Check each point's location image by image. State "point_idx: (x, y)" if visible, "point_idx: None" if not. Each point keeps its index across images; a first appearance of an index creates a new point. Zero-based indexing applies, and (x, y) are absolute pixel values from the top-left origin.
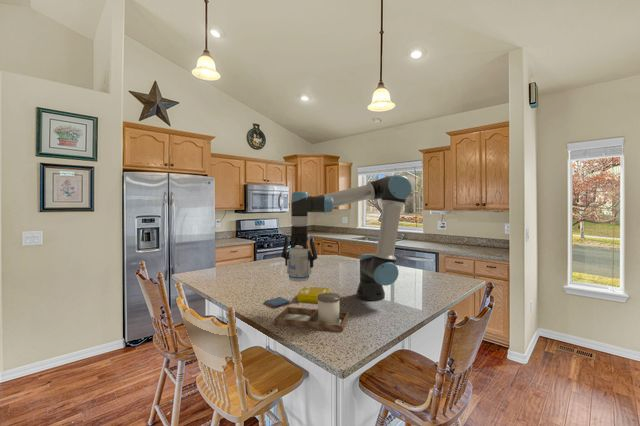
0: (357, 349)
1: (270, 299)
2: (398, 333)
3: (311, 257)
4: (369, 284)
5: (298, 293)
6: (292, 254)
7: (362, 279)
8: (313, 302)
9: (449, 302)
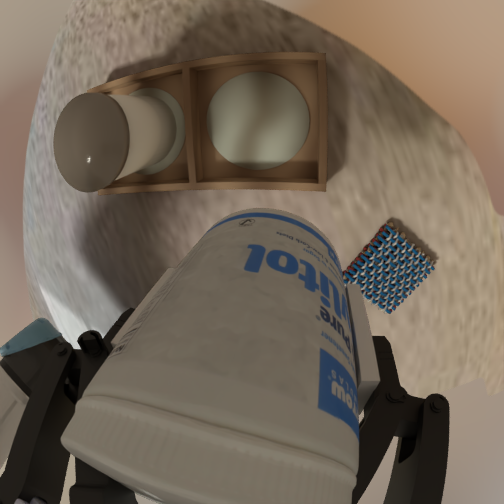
0: (68, 42)
1: (417, 283)
2: (27, 154)
3: (84, 369)
4: None
5: None
6: (267, 406)
7: None
8: None
9: (34, 320)
